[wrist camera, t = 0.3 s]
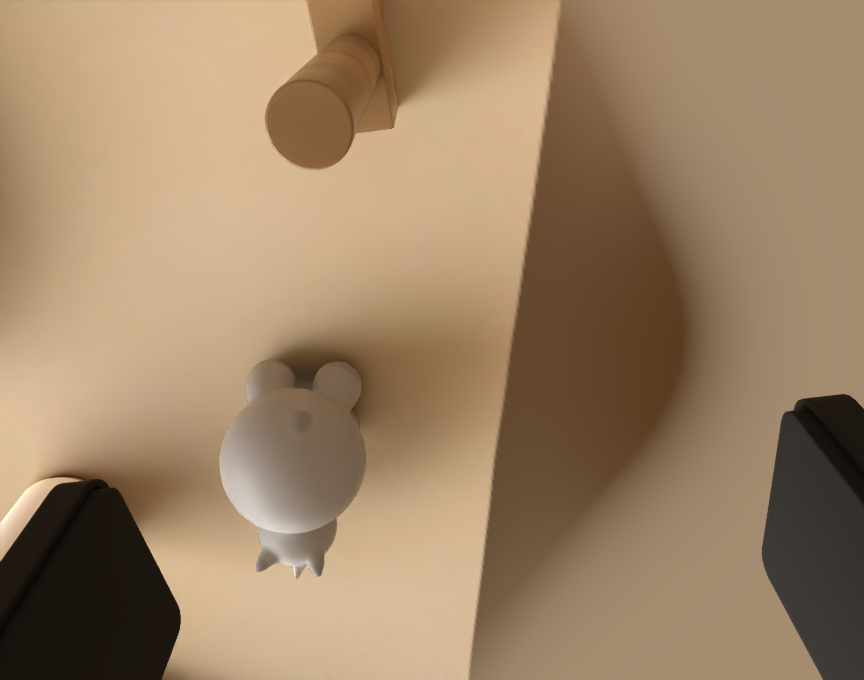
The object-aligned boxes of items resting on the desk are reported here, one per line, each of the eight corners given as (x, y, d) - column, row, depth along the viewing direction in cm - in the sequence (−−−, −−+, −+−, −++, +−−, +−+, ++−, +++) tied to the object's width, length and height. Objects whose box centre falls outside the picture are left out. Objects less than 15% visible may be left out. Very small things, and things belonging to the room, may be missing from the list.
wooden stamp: (321, -10, 27) (233, 23, 15) (378, -19, 27) (335, 7, 15) (345, 115, 30) (286, 228, 18) (398, 107, 30) (375, 215, 18)
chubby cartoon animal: (250, 504, 42) (212, 622, 34) (243, 341, 36) (194, 442, 28) (365, 513, 42) (350, 631, 35) (376, 353, 36) (362, 456, 29)
